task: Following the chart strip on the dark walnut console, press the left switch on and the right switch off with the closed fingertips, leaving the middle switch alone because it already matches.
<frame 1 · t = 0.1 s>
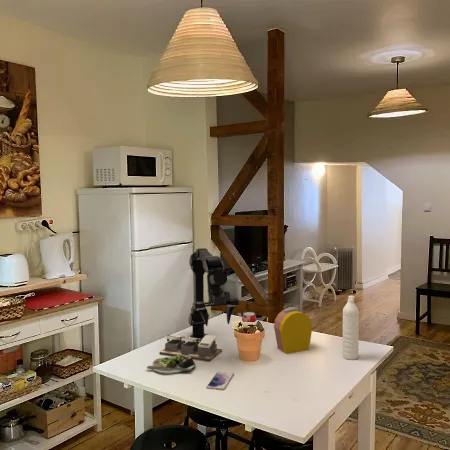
hand: (217, 324, 192), 15 cm above the table, tool pointing down, fingers open, 9 cm apart
salad plate: (175, 367, 189), on the table
switch middle: (190, 339, 203), point 6 cm above the table, hinge at -15.0°
switch 1: (174, 337, 206), point 6 cm above the table, hinge at -15.0°
smartphone: (220, 382, 174), on the table
switch 2: (207, 341, 200), point 6 cm above the table, hinge at 15.0°
alarm clock: (292, 349, 207), on the table
water bottle: (350, 356, 197), on the table
switch console: (191, 352, 204), on the table
soda can: (249, 338, 222), on the table
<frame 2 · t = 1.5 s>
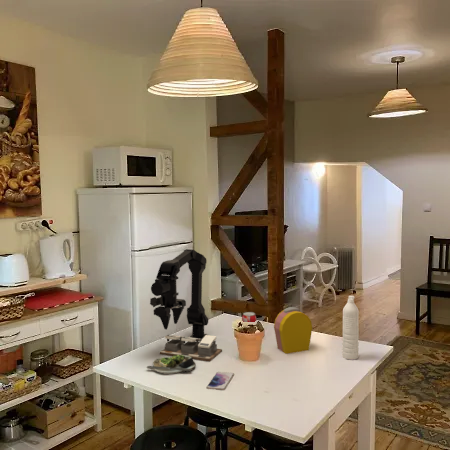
hand: (170, 326, 203), 12 cm above the table, tool pointing down, fingers open, 8 cm apart
nothing on the table moved.
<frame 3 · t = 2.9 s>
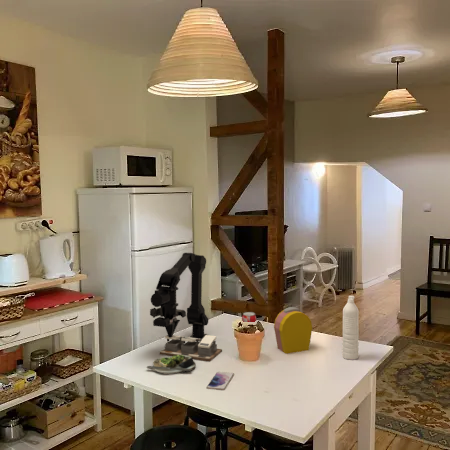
hand: (170, 337, 203), 7 cm above the table, tool pointing down, fingers closed, pressing on switch 1
switch 1: (174, 337, 206), point 6 cm above the table, hinge at -15.0°, touching gripper
everything else where it was.
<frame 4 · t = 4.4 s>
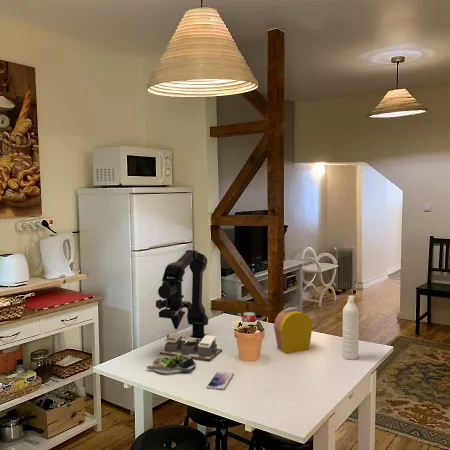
hand: (176, 328, 203), 11 cm above the table, tool pointing down, fingers closed
switch 1: (174, 337, 206), point 6 cm above the table, hinge at 6.3°
everything else where it was.
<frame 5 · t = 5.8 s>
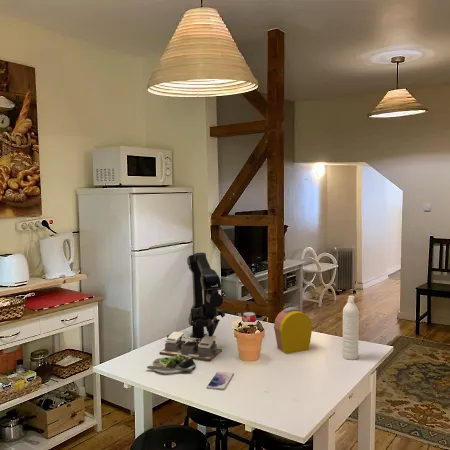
hand: (210, 336, 204), 7 cm above the table, tool pointing down, fingers closed, pressing on switch 2
switch 1: (174, 337, 206), point 6 cm above the table, hinge at 11.1°
switch 2: (207, 341, 200), point 6 cm above the table, hinge at 14.7°, touching gripper
everything else where it was.
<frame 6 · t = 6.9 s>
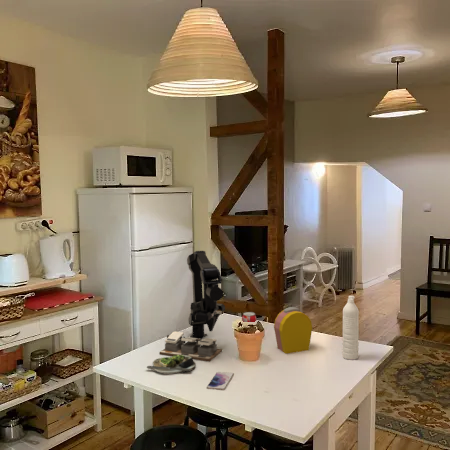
hand: (210, 331, 203), 10 cm above the table, tool pointing down, fingers closed
switch 1: (174, 337, 206), point 6 cm above the table, hinge at 12.7°
switch 2: (207, 341, 200), point 6 cm above the table, hinge at -5.8°
everything else where it was.
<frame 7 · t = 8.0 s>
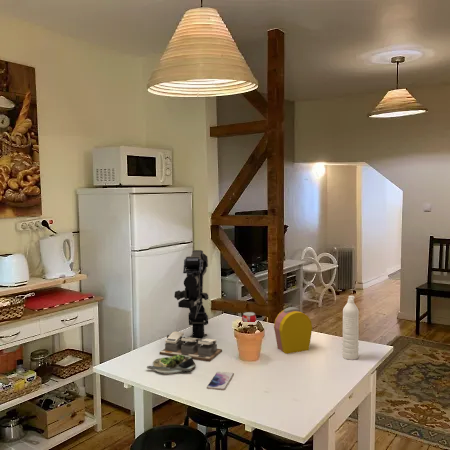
hand: (194, 318, 210), 13 cm above the table, tool pointing down, fingers closed
switch 1: (174, 337, 206), point 6 cm above the table, hinge at 13.3°
switch 2: (207, 341, 200), point 6 cm above the table, hinge at -9.3°
everything else where it was.
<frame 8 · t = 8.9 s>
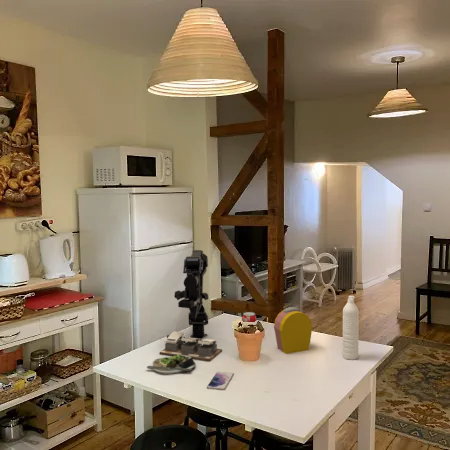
hand: (194, 318, 210), 13 cm above the table, tool pointing down, fingers closed
switch 2: (207, 341, 200), point 6 cm above the table, hinge at -10.6°
everything else where it was.
at the end: switch 1 at +14° (first picture: -15°); switch 2 at -11° (first picture: +15°); switch middle at -15° (first picture: -15°) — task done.
